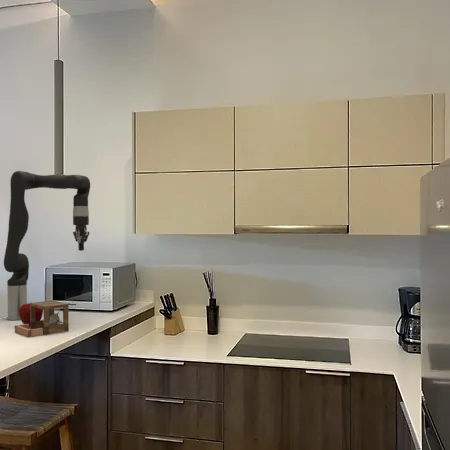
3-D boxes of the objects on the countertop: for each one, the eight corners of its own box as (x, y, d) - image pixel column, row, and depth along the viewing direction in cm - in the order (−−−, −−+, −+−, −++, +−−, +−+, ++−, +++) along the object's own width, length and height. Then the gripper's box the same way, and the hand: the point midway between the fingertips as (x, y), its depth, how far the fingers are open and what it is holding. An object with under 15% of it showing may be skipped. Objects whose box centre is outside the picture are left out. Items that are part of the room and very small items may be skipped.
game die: (47, 338, 231) (38, 319, 234) (65, 329, 235) (56, 311, 238) (46, 332, 224) (37, 313, 227) (65, 323, 227) (55, 304, 231)
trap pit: (14, 332, 227) (14, 325, 227) (28, 330, 231) (28, 323, 231) (28, 337, 216) (28, 330, 216) (42, 335, 221) (42, 328, 221)
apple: (43, 323, 248) (43, 299, 248) (44, 327, 238) (43, 302, 238) (18, 325, 244) (18, 300, 244) (18, 329, 234) (18, 303, 234)
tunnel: (30, 329, 232) (29, 303, 232) (53, 326, 240) (52, 300, 240) (45, 335, 221) (45, 306, 221) (68, 331, 228) (68, 304, 228)
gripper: (67, 215, 255) (67, 250, 255) (80, 215, 245) (80, 251, 245) (81, 215, 260) (81, 249, 260) (94, 215, 250) (94, 250, 250)
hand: (81, 250), depth 252 cm, fingers closed
